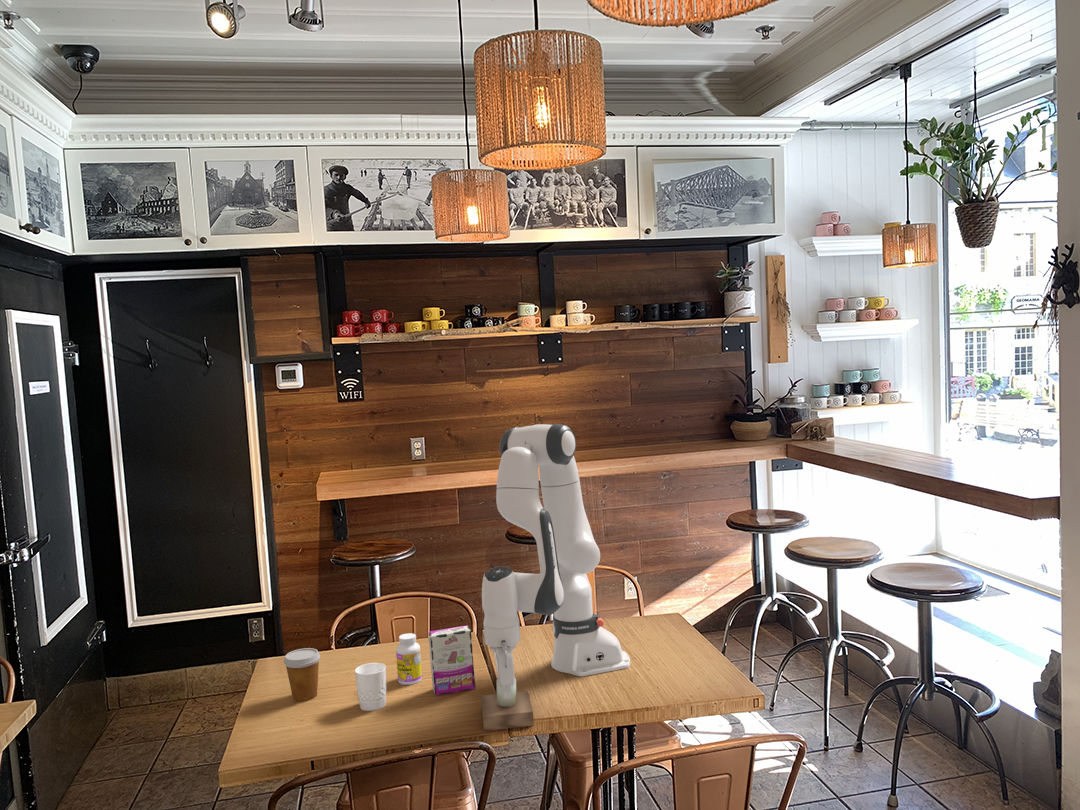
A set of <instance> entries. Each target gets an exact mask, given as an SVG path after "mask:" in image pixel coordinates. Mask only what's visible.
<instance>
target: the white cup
mask: <svg viewBox="0 0 1080 810" xmlns="http://www.w3.org/2000/svg"><path fill="white" fill-rule="evenodd" d="M354 673H355V674H354V675H355V683H356V690H357V697H358V702H359V703H358V704H359V708H360V710H362V711H367V712H371V711H372V712H373V711H377V710H381V709H382V708H384V707H386V704H387V666H386V664H385V663H383V662H368V663H364V664H361V665H359V666H357V667H356V668H355V670H354Z"/></svg>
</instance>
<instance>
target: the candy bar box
mask: <svg viewBox="0 0 1080 810" xmlns="http://www.w3.org/2000/svg"><path fill="white" fill-rule="evenodd" d="M427 633H428V644H429V646H428V647H429V658H430V659H429V660H430V668H431V669H430V672H431V683H432V684H431V686H432V690H433V693H434V696H435V697H436V696H437V697H438V696H443V695H449V694H455V693H460V692H465V691H466V692H467V691H471V690H475V689H476V682H475V681H476V680H475V679H476V678H475V677H476V676H475V667H474V653H473V643H472V642H473V640H472V629H470V627H469V625H461V626H456V627H449V628H444V629H436V630H430V631H428V632H427Z"/></svg>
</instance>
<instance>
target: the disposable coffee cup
mask: <svg viewBox="0 0 1080 810" xmlns="http://www.w3.org/2000/svg"><path fill="white" fill-rule="evenodd" d="M284 656H285V657H284V659H283V664H284V665H285V669H286V671H287V677H288V681H289V687H290V691H291V697H292V700H293V701H295V702H307V701H308V702H309V701H311V700H314V699H315V698H316V697H317V696H318V687H319V686H318V684H319V682H318V681H319V666H320V665H319V664H320V662H319V661H320V658H321V654H320V652H319V651H318V649H316V648H313V647H312V648H311V647H308V648H307V647H306V648H305V647H304V648H298V649H295V650H292V651H289V652H287V653H286V654H285V655H284Z"/></svg>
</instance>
